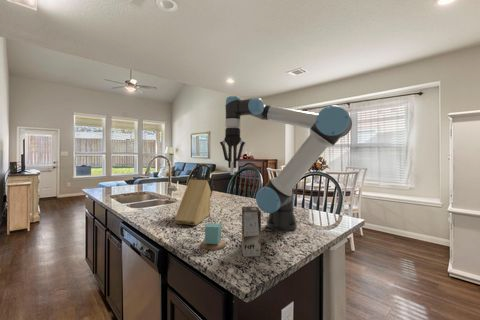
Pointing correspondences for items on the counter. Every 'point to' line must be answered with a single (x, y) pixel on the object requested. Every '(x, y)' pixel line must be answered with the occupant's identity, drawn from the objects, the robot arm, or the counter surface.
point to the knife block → (196, 198)
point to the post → (213, 245)
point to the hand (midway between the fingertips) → (232, 174)
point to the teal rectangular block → (213, 233)
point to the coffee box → (251, 231)
